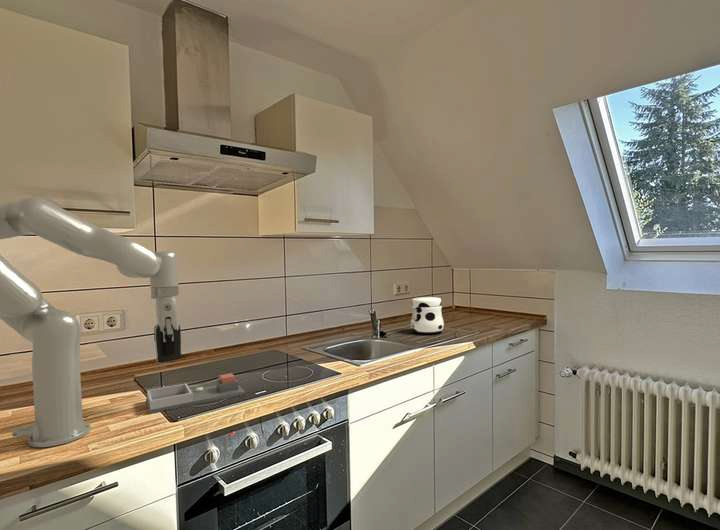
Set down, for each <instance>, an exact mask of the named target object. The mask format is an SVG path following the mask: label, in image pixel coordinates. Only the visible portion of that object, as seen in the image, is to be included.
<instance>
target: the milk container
mask: <svg viewBox="0 0 720 530" xmlns="http://www.w3.org/2000/svg"><path fill="white" fill-rule="evenodd" d="M442 308H443V306H442V299H441V298H440V297H431V296H430V297H429V296H427V297H426V296H425V297H424V296H423V297H422V296H421V297H414V298H411V317H410V318H411V319H410V328H411V331H413V332H414V333H418V334H421V335H425V334H426V335H427V334H428V335H431V334H432V335H433V334H438V333H440V332H442V331H443V329H444V326H445V322H444V318H443V313H442V310H443V309H442Z"/></svg>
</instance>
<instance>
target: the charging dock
mask: <svg viewBox="0 0 720 530" xmlns="http://www.w3.org/2000/svg"><path fill="white" fill-rule="evenodd" d="M215 381H216V384H215V385H210V386H206V387H203V386H198V387H195V389H190V387H189V386H188V384H187V383H182V384H174V385H170V386H164V387H158V388H153V389H152V388H151V389H147V390H146V392H147V393H146V394H147V397H146V398H145V403H146V407H147V410H148V411H147V412H148V414H149V415H151V414H157V413H161V412H165V411H164V410H167V411H169V410H168V409H172V410H176V409H175V408H177V409H180V407H182V408H186V406H187V407H191V406H195V404H196V405H200V403H201V404H206V403H210V401H211V402H215V401H221V400H225V398H226V399H230V398H234V396H235V397H240V396H244V395H243V394H245V395H246V391H245V390H244V388H242V387H241V386H240V385H239V381H238V380H237V379H236V378H235V382H231V383H226V384H221V383H220V382H219V379H217V380H215ZM239 395H240V396H239ZM220 399H221V400H220ZM205 402H206V403H205ZM190 405H191V406H190Z"/></svg>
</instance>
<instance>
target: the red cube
mask: <svg viewBox="0 0 720 530" xmlns="http://www.w3.org/2000/svg"><path fill="white" fill-rule="evenodd" d="M218 378H219V379H218V380H219V382H220V383H221V384H226V383H231V382H235V379H236V376H235V375H234V374H233V373H232V372H231V373H226V374H221V375H220V374H219V375H218Z"/></svg>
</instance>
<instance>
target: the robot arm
mask: <svg viewBox="0 0 720 530" xmlns="http://www.w3.org/2000/svg"><path fill="white" fill-rule="evenodd" d="M31 234H33V235H35V236H37V237H39V238H42V239H44V240H46V241H48V242H51V243H53V244H55V245H57V246H60V247H62V248H64V249H65V250H68V251H70V252H72V253H74V254H77V255H79V256H80V255H81V256H82V257H86V258H92V259H97V260H101V261H105V262H108V263H110V264H113V265H116V268H117V271H118V272H119V273H120V274H121V275H123V276H125V277H127V278H133V279H134V278H135V279H137V278H139V279H148V278H149V279H150V280H149V281H150V282H149V284H150V285H149V286H150V299H151V300H155V311H156V313H155V314H156V323H157V324H158V325H159V328H160V331H161V332H163V342H162V348H163V356H169V355H174V354H175V345H174V336H173V327H174V329H176V331H177V330H178V329H179V327H178V324H179V319H178V306H177V300H176V299H177V298H179V297H180V294H179V269H178V255H177V254H176V252H174V251H152V250H150V249H149V248H146V247H144V246H143V245H141V244H140V243H137V242H135V241H133V240H131V239H128V238H126V237H125V236H123V235H120V234H117V233H114V232H112V231H110V230H108V229H105V228H102V227H100V226H97V225H95V224H93V223H91V222H90V221H87V220H85V219H83V218H81V217H79V216H77V215H76V214H73V213H71V212H70V211H68V210H66V209H64V208H62V207H60V206H58V205H56V204H55V203H53V202H51V201H49V200H47V199H44V198H41V197H37V196H30V197H26V198H23V199H20V200H18V201H12V202H6V203H0V240H5V239H11V238H17V237H21V236H25V235H26V236H28V235H31ZM0 320H1V321H3V323H5V324H6V325H8V327H10V328H11V329H12V330H13V331H16V332H17V333H18V334H19V335H20V336H21V337H23V338H24V339H26V340H27V341H29V342H30V343H32V356H31V373H32V374H31V377H32V387H33V388H32V389H33V401H34V402H33V403H34V404H33V405H34V406H33V407H34V421H33V423H29V425H25V426H18V427H13V428H12V430H11V431H12V432H11V435H12V437H16V438H17V439H20V438H23V437H28V436H29V437H28V438H27V444H28V446H30V447H32V448H49V447H54V446H55V447H56V446H60V445H65V444H68V443H70V442H74V441H76V440H78V439H81V438H83V437H84V436H86V435H87V434H88V433H89V432H90V431H91V424H90V423H89V422H86V421H84V420H83V419H84V418H83V402H82V401H83V400H82V399H83V398H82V382H81V381H82V380H81V379H82V378H81V367H80V366H81V363H80V360H81V358H80V357H81V356H80V349H81V341H82V340H81V339H82V329H81V324H80V322H79V320H78V319H77V318H76V316H75V315H74V314H72V313H70V312H69V311H66V310H62V309H58V308H55V306H53V305H52V304H51V303H50V302H49V301H47V300H46V299H45V298H44V297H43V293H42V291H41V289H40V288H39V287H38V285H36V284H35V283H34V282H32V281H31V280H30V278H28V277H26V276H25V275H24V274H23V273H22V272H20V271H19V270H18V269H16V267H14V266H13V265H12V264H11V263H10V262H9V261H8V260H7V259H6V258H5V257H4V256H3V255H2V254H1V253H0ZM157 324H156V325H157ZM165 329H166V330H167V331H165V332H164V330H165ZM165 334H166V335H165Z"/></svg>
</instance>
